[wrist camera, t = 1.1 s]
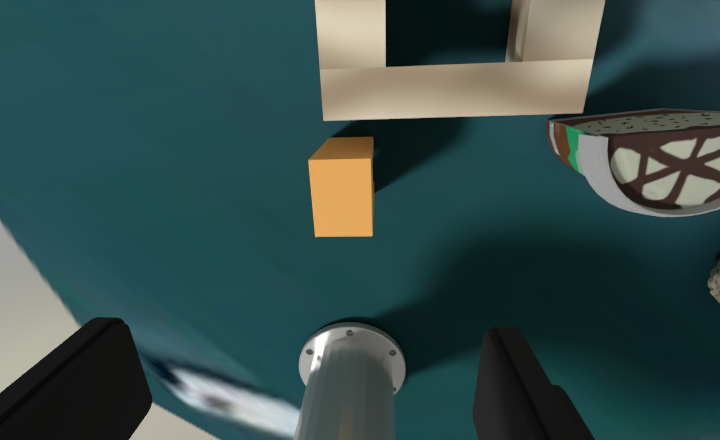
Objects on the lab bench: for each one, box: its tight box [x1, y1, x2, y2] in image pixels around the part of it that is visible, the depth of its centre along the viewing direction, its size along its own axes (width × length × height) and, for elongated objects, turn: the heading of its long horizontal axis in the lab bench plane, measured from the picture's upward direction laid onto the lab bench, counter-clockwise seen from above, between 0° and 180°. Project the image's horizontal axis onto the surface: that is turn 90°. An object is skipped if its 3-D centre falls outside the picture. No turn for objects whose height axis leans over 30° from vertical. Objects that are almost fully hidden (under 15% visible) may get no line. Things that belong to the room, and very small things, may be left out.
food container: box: [547, 108, 720, 217], centre depth 25 cm, size 12×6×10 cm, turn 96°
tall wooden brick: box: [308, 137, 374, 237], centre depth 27 cm, size 5×4×10 cm
